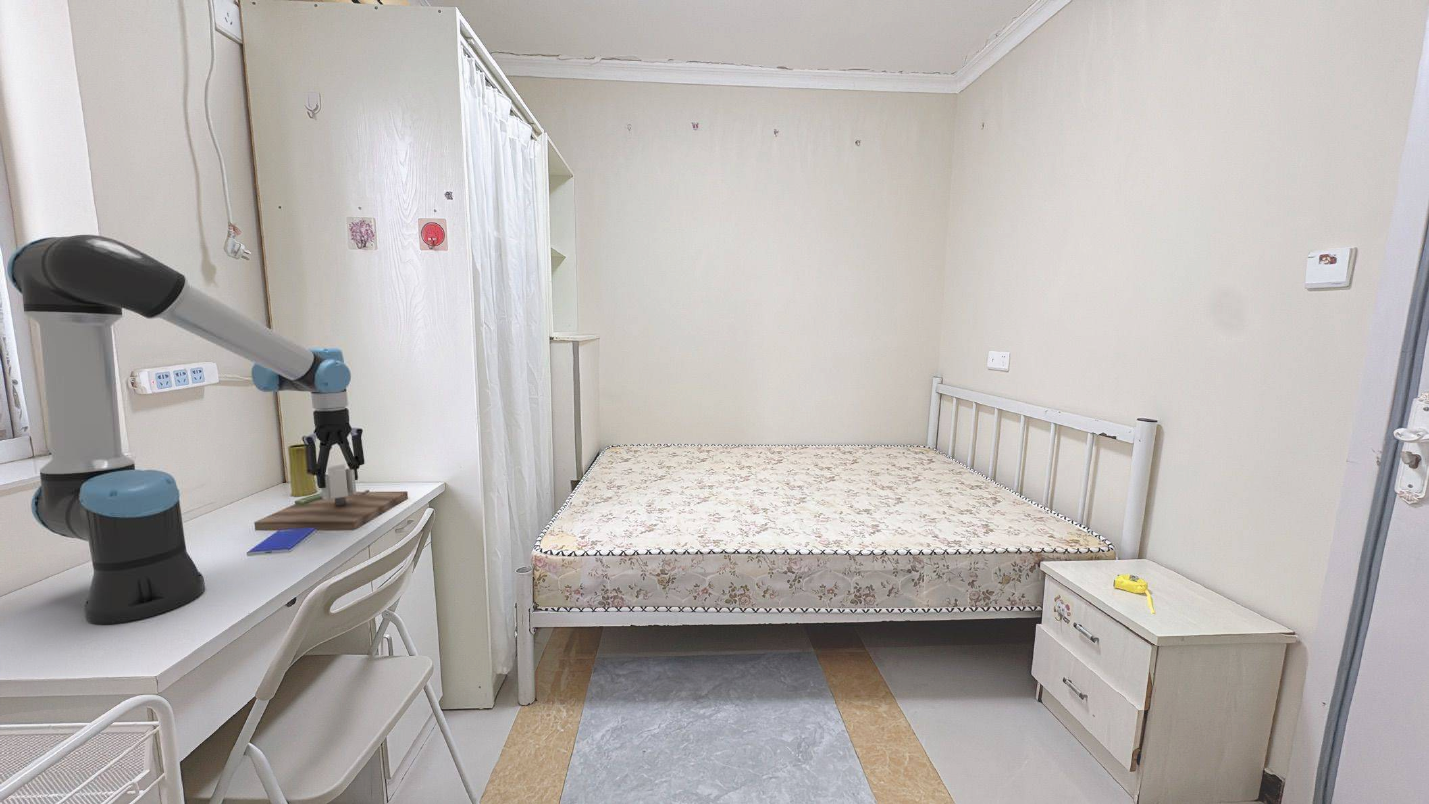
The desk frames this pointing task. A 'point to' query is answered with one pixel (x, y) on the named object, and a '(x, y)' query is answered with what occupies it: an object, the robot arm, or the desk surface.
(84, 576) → the desk surface
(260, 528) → the brown flat square board
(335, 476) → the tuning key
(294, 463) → the vase
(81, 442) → the robot arm
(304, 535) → the hard drive
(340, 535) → the desk surface
